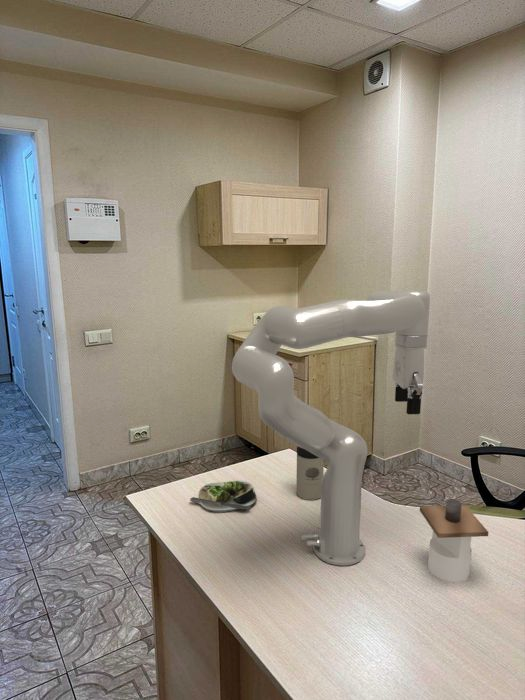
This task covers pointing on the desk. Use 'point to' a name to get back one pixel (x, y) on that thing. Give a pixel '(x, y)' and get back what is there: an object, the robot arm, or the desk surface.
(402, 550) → the desk surface
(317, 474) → the travel mug
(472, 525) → the lid
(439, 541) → the white cylindrical piece
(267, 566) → the desk surface
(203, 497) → the salad plate
